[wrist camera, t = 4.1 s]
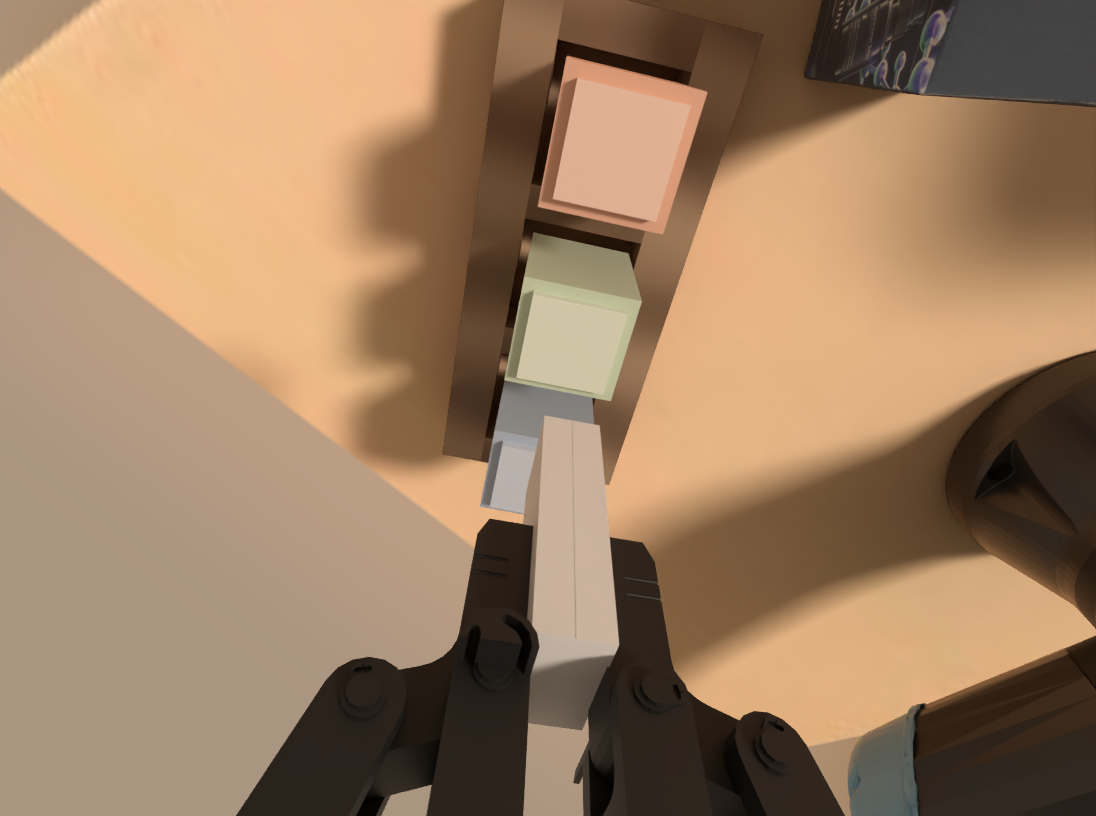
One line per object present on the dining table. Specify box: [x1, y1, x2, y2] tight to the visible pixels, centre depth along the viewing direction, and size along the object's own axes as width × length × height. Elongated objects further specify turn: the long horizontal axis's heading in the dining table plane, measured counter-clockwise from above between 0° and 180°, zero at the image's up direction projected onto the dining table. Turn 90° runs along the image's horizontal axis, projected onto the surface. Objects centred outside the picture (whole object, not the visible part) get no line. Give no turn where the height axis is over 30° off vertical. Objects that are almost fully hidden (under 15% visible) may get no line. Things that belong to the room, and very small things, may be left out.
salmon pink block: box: [538, 56, 708, 235], centre depth 21 cm, size 4×4×6 cm
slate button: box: [480, 380, 594, 514], centre depth 29 cm, size 4×4×6 cm
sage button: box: [504, 232, 642, 401], centre depth 25 cm, size 4×4×6 cm
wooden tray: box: [443, 0, 763, 485], centre depth 29 cm, size 23×10×3 cm, turn 168°
